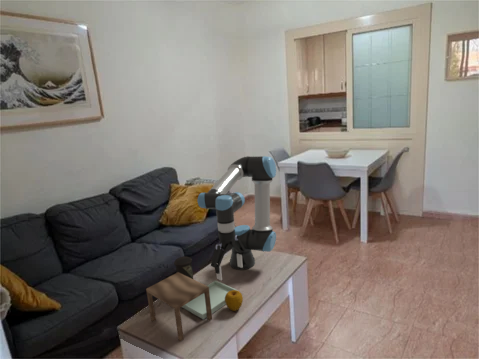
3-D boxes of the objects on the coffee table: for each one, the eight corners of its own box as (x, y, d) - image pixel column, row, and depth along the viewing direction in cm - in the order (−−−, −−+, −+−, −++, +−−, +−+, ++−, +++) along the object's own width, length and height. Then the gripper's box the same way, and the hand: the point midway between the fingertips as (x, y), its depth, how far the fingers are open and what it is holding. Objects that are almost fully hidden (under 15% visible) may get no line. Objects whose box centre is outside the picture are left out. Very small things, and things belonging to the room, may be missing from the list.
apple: (235, 300, 164) (234, 284, 162) (247, 307, 158) (246, 291, 156) (222, 308, 159) (220, 292, 157) (234, 316, 153) (232, 299, 151)
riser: (182, 301, 167) (178, 272, 163) (212, 319, 152) (208, 286, 148) (151, 320, 154) (146, 288, 150) (180, 341, 139) (176, 306, 136)
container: (195, 297, 169) (191, 262, 165) (177, 299, 169) (172, 263, 164) (196, 288, 178) (192, 254, 173) (179, 290, 177) (174, 255, 173)
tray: (215, 284, 180) (215, 280, 179) (239, 295, 169) (238, 290, 168) (180, 306, 163) (179, 301, 162) (203, 319, 152) (202, 314, 151)
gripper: (239, 219, 160) (242, 260, 165) (199, 237, 143) (204, 281, 148) (251, 222, 155) (253, 264, 160) (211, 241, 138) (216, 287, 143)
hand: (230, 272), depth 154 cm, fingers open, 13 cm apart
